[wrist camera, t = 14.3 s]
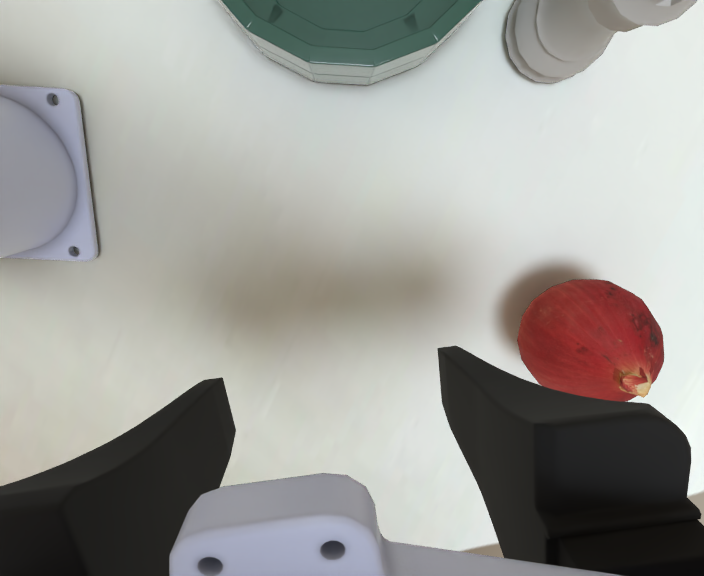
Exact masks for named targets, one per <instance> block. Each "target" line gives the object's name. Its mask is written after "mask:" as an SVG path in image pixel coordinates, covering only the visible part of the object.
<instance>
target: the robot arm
mask: <svg viewBox="0 0 704 576" xmlns="http://www.w3.org/2000/svg"><path fill="white" fill-rule="evenodd" d="M54 95H56V96H57V97H58V99H59V103H58V104H57V105H54V104H53V101H52V99H53V96H54ZM74 246H75V247H77V248H78V249H79V255H78V254H76V253H75V252H74V250H73V248H74ZM97 255H98V244H97V236H96V228H95V220H94V212H93V204H92V196H91V188H90V180H89V171H88V163H87V155H86V147H85V139H84V131H83V123H82V115H81V107H80V101H79V97H78V96H77V95H76V93H74V92H73V91H71V90H68V89H64V88H49V87H32V86H16V85H0V258H19V259H42V260H66V261H91V260H93V259H95V258H96V257H97ZM438 359H439V371H440V383H441V395H442V404H443V407H444V410H445V413H446V416H447V419H448V422H449V425H450V428H451V430H452V432H453V434H454V436H455V438H456V441H457V443H458V445H459V447H460V449H461V451H462V453H463V455H464V457H465V459H466V461H467V463H468V465H469V467H470V469H471V471H472V473H473V475H474V477H475V480H476V482H477V484H478V486H479V489H480V491H481V493H482V496H483V498H484V501H485V504H486V507H487V510H488V512H489V515H490V518H491V521H492V523H493V526H494V529H495V532H496V535H497V538H498V541H499V544H500V547H501V549H502V553H503V555H504V558H499V557H493V556H486V555H479V554H472V553H465V552H459V551H452V550H445V549H438V548H431V547H425V546H418V545H411V544H404V543H397V542H391V541H388V540H386V539H385V538H384V537H383V536H382V534H381V533H380V530H379V527H378V523H377V516H376V509H375V504H374V502H373V500H372V498H371V496H370V494H369V492H368V490H367V488H366V486H364V485H362V484H361V483H359V482H357V481H356V480H354V479H352V478H351V477H349V476H348V475H339V474H327V473H321V474H313V475H306V476H298V477H291V478H283V479H276V480H268V481H261V482H253V483H246V484H238V485H231V486H223V487H220V484H221V481H222V479H223V476H224V473H225V470H226V468H227V465H228V462H229V459H230V456H231V451H232V447H233V442H234V437H235V432H236V429H235V425H234V421H233V417H232V413H231V409H230V405H229V401H228V397H227V393H226V389H225V385H224V381H223V378H216V379H208V380H204V381H202V382H200V383H198V384H197V385H195V386H194V387H192V388H191V389H189V390H188V391H186V392H185V393H183V394H182V395H181V396H179V397H178V398H177V399H175V400H174V401H172V402H171V403H170V404H168V405H167V406H165V407H164V408H163V409H161V410H160V411H158V412H157V413H155V414H154V415H152V416H151V417H149V418H148V419H146V420H145V421H143V422H142V423H140V424H139V425H137V426H136V427H134V428H132V429H131V430H129V431H127V432H126V433H124V434H122V435H121V436H119V437H117V438H115V439H113V440H112V441H110V442H108V443H106V444H104V445H102V446H100V447H98V448H96V449H94V450H92V451H90V452H88V453H86V454H83V455H81V456H79V457H77V458H75V459H73V460H71V461H68V462H66V463H64V464H61V465H59V466H56V467H54V468H52V469H49V470H46V471H44V472H41V473H39V474H36V475H33V476H31V477H28V478H25V479H22V480H19V481H16V482H13V483H10V484H7V485H4V486H0V576H704V526H703V525H702V524H701V523H700V522H699V521H698V520H697V519H700V518H701V513H700V510H699V509H698V508H697V507H696V506H695V505H694V504H693V503H692V502H691V501H690V500H689V499H688V498H687V491H688V482H689V474H690V466H691V447H690V445H689V442H688V440H687V437H686V435H685V434H684V433H683V432H682V431H681V430H680V429H679V428H678V426H677V425H675V424H674V423H673V422H671V421H670V420H669V419H668V418H666V417H665V416H664V415H663V414H661V413H660V412H659V411H657V410H656V409H655V408H654V407H652V406H651V405H650V404H646V403H634V402H622V401H611V400H603V399H597V398H591V397H585V396H580V395H575V394H570V393H566V392H562V391H558V390H554V389H550V388H547V387H544V386H540V385H538V384H535V383H532V382H529V381H526V380H523V379H521V378H518V377H516V376H514V375H512V374H509V373H507V372H505V371H503V370H501V369H499V368H497V367H495V366H493V365H491V364H489V363H487V362H485V361H483V360H481V359H480V358H478V357H476V356H474V355H473V354H471V353H469V352H467V351H465V350H464V349H462V348H460V347H458V346H451V347H443V348H438ZM219 487H220V488H219Z"/></svg>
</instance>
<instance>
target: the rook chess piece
mask: <svg viewBox="0 0 704 576" xmlns="http://www.w3.org/2000/svg"><path fill="white" fill-rule="evenodd" d="M696 2H697V0H516V1H515V3H514V4H513V6H512V8H511V10H510V12H509V14H508V21H507V28H506V35H505V37H506V42H507V46H508V51H509V56H510V58H511V59H512V61H513V62H514V64H515V65H516V67H517V68H518V70H519V71H520V72H521V73H522V74H524V75H526V76H527V77H529V78H531V79H532V80H534V81H536V82H547V83H556V82H559V81H562V80H565V79H567V78H570V77H573V76H574V75H575V74H576V73H579V72H582V71H584V70H585V69H586V68H587V67H588V66H590V65H591V64H592V63H593V62H594V61H595V60H596V59H598V58H599V57H600V56H601V55H602V54H603V52H604V50H605V49H606V47H607V45H608V43H609V42H610V40H611V38H612V37H613V35H614V34H615V33H616V32H617V31H622V32H627V31H630V30H632V29H635V28H638V27H641V26H643V25H650V26H658V25H661V24H664V23H667V22H669V21H672V20H675V19H677V18H679V17H680V16H681V15H682V14H683V13H684V12H686V11H687V10H688V9H689V8H690V7H691V6H693V5H694V4H695V3H696Z"/></svg>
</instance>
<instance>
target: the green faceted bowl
mask: <svg viewBox="0 0 704 576" xmlns="http://www.w3.org/2000/svg"><path fill="white" fill-rule="evenodd" d="M218 1H219V2H220V3H221V5H222V6H223V7H224V9H225V10H226V11H227V12H228V14H229V15H230V16H231V17H232V18H233V19H234V21H235V22H236V23H237V24H238V25H239V26H240V28H241V29H242V30H243V31H244V32H245V33H246V35H247V36H248V37H249V38H250V39H251V40H252V41H253V43H254V44H255V45H256V46H257V47H258V48H259V50H260V51H261V52H262V53H263V54H264V55H265V56H266V57H268V58H270V59H272V60H274V61H275V62H277V63H279V64H281V65H283V66H285V67H287V68H289V69H291V70H293V71H295V72H297V73H298V74H300V75H302V76H304V77H306V78H308V79H310V80H312V81H316V82H325V83H341V84H358V85H367V84H368V85H370V84H372V83H375V82H378V81H380V80H383V79H386V78H388V77H391V76H393V75H396V74H399V73H401V72H404V71H406V70H409V69H412V68H414V67H417V66H418V65H420V64H421V63H422V62H423V61H424V60H425V59H426V58H427V57H428V56H429V55H430V54H431V53H432V52H433V51H434V50H435V49H436V48H437V47H439V46H440V45H441V44H442V43H443V42H444V41H445V40H446V39H447V38H448V37H449V36H450V35H451V34H452V33H453V32H454V31H455V30H456V29H457V28H458V27H459V26H460V25H461V24H462V23H463V22H464V21H465V20H466V19H467V17H468V16H469V15H470V14H471V13H472V12H473V11H474V10H475V9H476V8H477V6H478V5H479V4H480V3H481V2H482V1H483V0H218Z"/></svg>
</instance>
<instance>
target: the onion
mask: <svg viewBox="0 0 704 576" xmlns="http://www.w3.org/2000/svg"><path fill="white" fill-rule="evenodd" d="M517 341H518V346H519V350H520V354H521V359H522V361H523V362H524V364H525V365H526V367H527V368H528V370H529V371H530V372H531V374H532V375H533V376H534V378H535V379H536V380H537V381H538V383H539V384H540V385H542V386H544V387H547V388H550V389H554V390H558V391H562V392H566V393H570V394H575V395H580V396H585V397H591V398H597V399H603V400H611V401H622V402H625V401H628V400H630V399H632V398H634V397H636V396H638V395H639V396H641V397H645V396H646V395H647V394H648V392H649V389H650V387H651V384H652V383H653V382H654V381H655V380H656V378H657V376H658V374H659V372H660V370H661V367H662V365H663V362H664V347H663V335H662V331H661V328H660V326H659V325H658V323H657V322H656V320H655V318H654V317H653V315H652V314H651V312H650V311H649V309H648V307H647V306H646V305H645V303H644V302H643V300H642V299H640V298H639V297H637V296H636V295H634V294H633V293H631V292H629V291H627V290H625V289H623V288H621V287H619V286H617V285H615V284H613V283H611V282H609V281H604V280H571V281H568V282H565V283H562V284H559V285H556V286H552V287H551V288H549V289H548V290H546V291H545V292H544V293H542V294H541V295H539V296H538V297H537V298H535V299H534V300H533V301H532V302H531V304H530V305H529V307H528V308H527V310H526V311H525V313H524V314H523V315H522V320H521V324H520V328H519V333H518V339H517Z"/></svg>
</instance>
